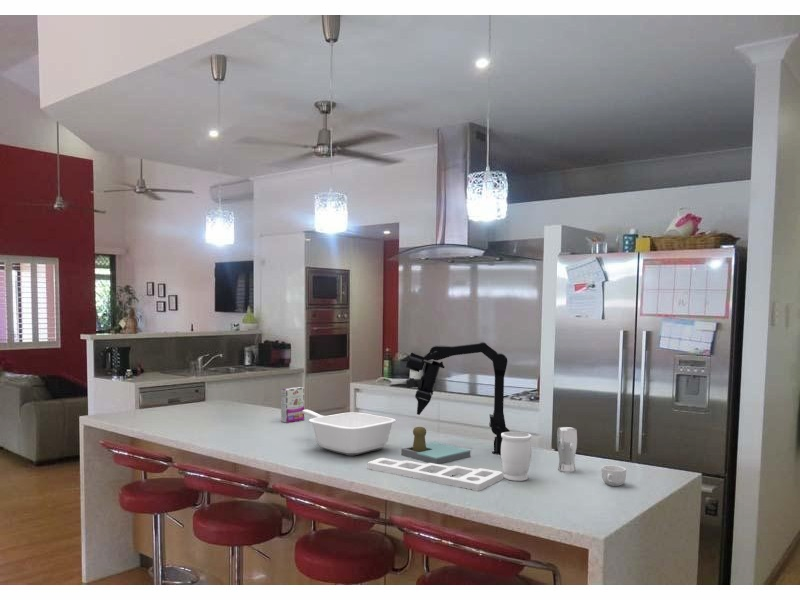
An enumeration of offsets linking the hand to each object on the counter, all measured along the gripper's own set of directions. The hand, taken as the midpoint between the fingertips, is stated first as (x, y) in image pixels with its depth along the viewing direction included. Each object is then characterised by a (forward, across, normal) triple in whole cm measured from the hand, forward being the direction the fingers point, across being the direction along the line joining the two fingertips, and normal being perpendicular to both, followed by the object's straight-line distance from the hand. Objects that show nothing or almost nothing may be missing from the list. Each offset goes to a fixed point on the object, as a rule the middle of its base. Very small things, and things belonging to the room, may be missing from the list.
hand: (418, 412), depth 255 cm
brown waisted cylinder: (+15, +9, +5) cm, 18 cm away
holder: (+13, +34, +12) cm, 38 cm away
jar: (+5, +35, +39) cm, 53 cm away
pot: (+24, -1, -28) cm, 37 cm away
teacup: (-4, +39, +69) cm, 79 cm away
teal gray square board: (+13, +8, +11) cm, 19 cm away
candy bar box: (+33, -52, -60) cm, 86 cm away
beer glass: (0, +23, +57) cm, 62 cm away
